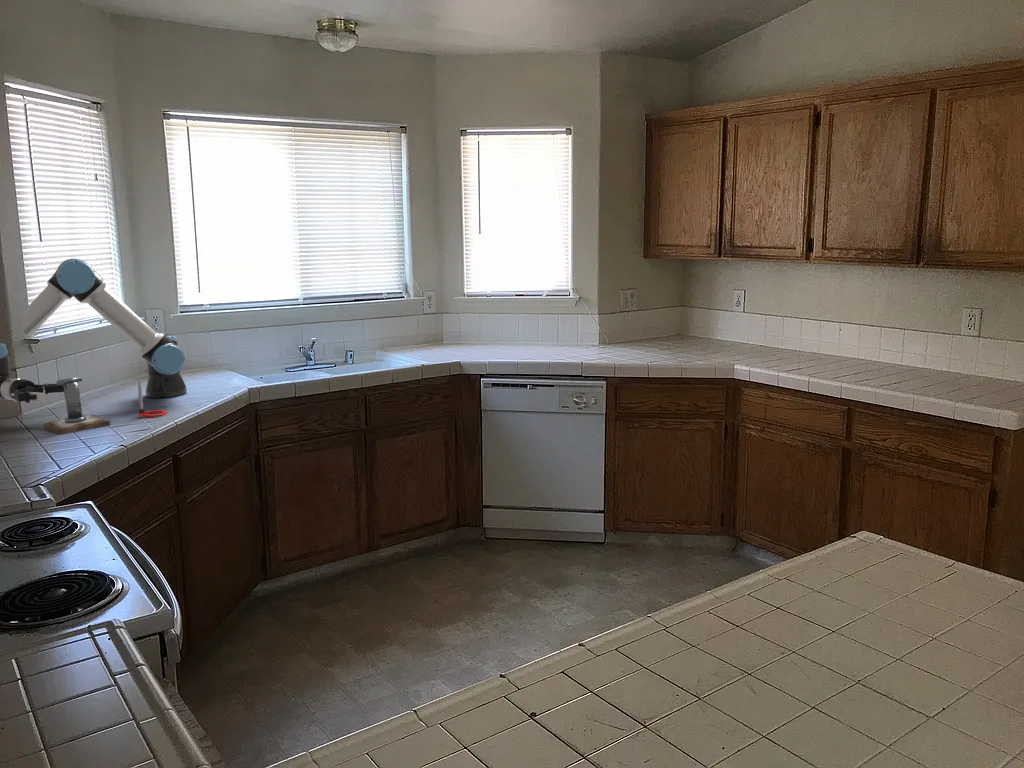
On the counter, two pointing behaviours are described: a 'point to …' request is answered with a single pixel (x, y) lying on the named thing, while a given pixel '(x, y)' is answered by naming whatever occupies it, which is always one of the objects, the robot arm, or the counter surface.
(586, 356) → the counter surface
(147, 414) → the tow hook
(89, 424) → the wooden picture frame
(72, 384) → the metal mooring bollard
